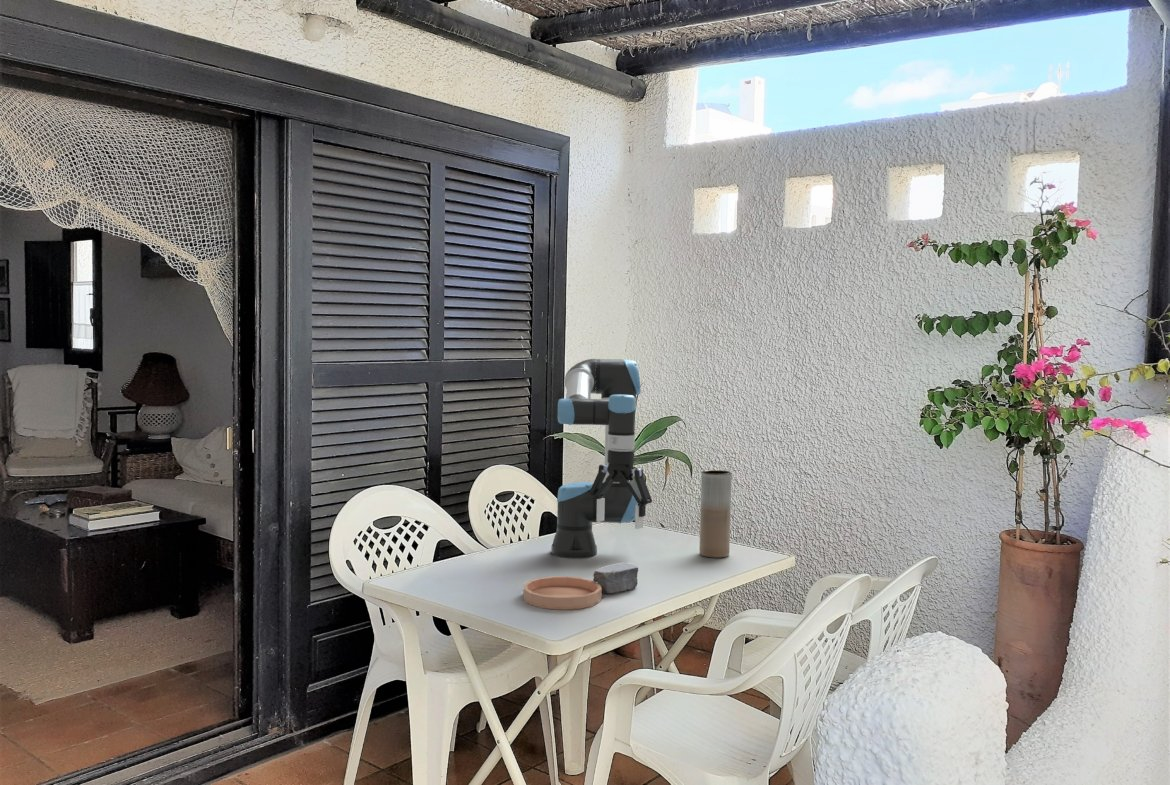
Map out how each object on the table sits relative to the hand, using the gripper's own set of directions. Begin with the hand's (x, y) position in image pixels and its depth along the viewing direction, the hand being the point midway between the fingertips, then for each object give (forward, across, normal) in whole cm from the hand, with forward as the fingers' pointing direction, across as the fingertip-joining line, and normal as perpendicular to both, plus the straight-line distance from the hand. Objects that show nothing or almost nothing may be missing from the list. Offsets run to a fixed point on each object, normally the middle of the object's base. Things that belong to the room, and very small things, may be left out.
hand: (619, 524), depth 250 cm
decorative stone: (+19, 0, 0) cm, 19 cm away
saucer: (+19, -6, -17) cm, 26 cm away
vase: (+19, -2, +56) cm, 59 cm away
